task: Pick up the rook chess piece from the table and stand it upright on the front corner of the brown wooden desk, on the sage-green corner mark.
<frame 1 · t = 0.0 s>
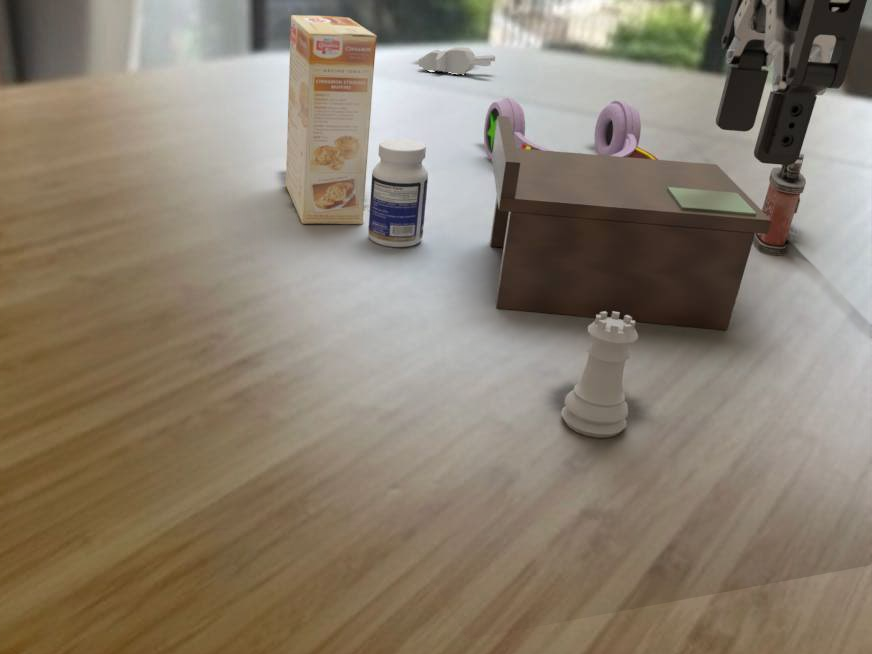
hand: (751, 144, 54), 20 cm above the table, tool pointing down, fingers open, 8 cm apart
coffeecake box: (322, 205, 105), on the table
brown wooden desk: (596, 281, 87), on the table
pill bottle: (394, 241, 95), on the table
headphones: (571, 175, 122), on the table
rook chess piece: (591, 425, 63), on the table
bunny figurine: (454, 74, 188), on the table
lighter: (767, 244, 100), on the table
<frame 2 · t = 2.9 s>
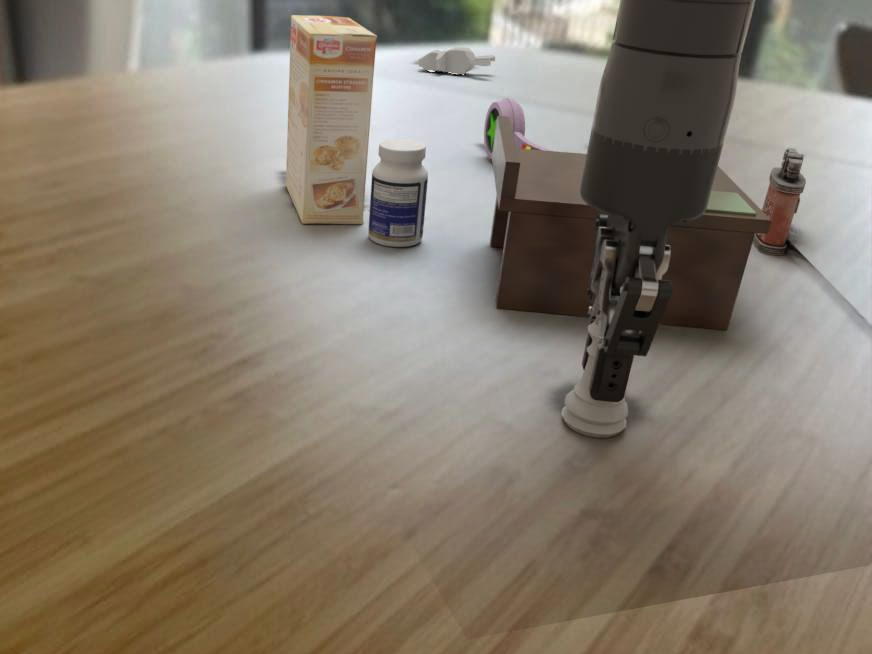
hand: (601, 383, 62), 3 cm above the table, tool pointing down, fingers closed on rook chess piece, 3 cm apart
rook chess piece: (591, 425, 63), on the table, touching gripper
everything else where it was.
when the fingers open (13 cm above the table, at t = 8.8 s): rook chess piece stays where it is, resting on brown wooden desk.
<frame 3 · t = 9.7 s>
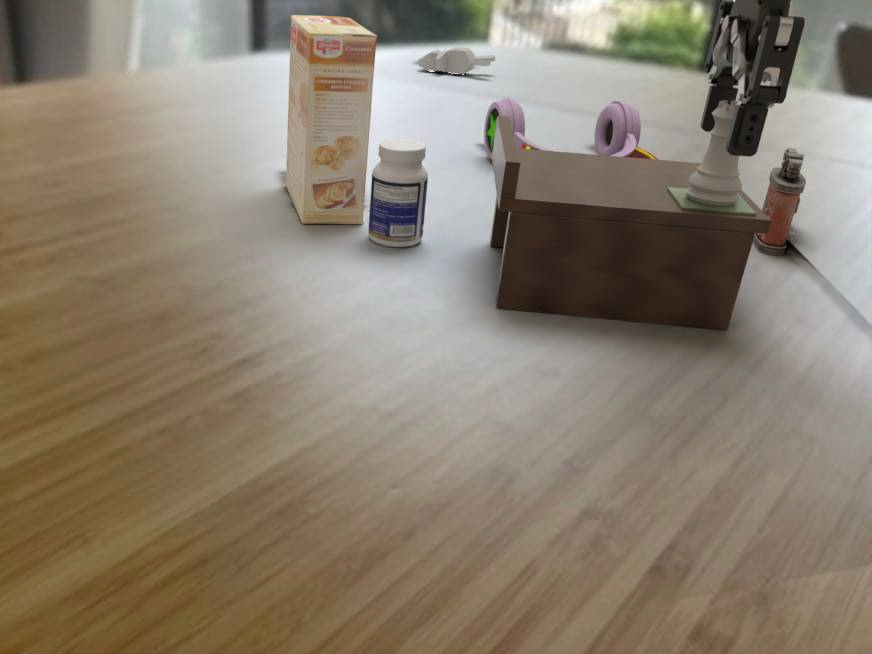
hand: (725, 142, 75), 15 cm above the table, tool pointing down, fingers open, 8 cm apart
rook chess piece: (710, 201, 77), point 10 cm above the table, touching brown wooden desk
everything else where it was.
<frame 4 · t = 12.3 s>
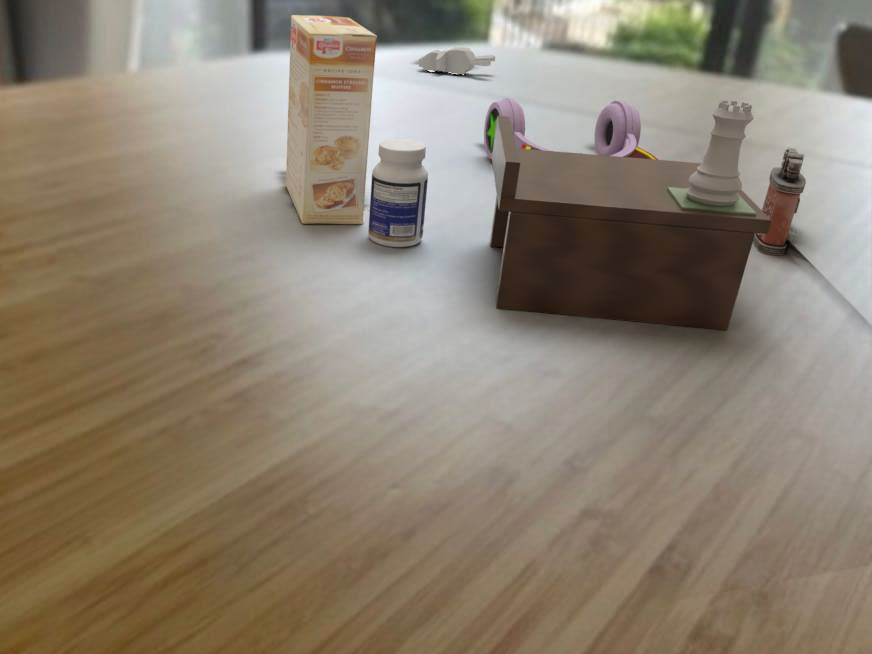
nothing on the table moved.
at the end: rook chess piece inside the target area on the brown wooden desk (0.2 cm from its centre), point 10.0 cm above the brown wooden desk's base; rook chess piece tilted 0°; the gripper is holding nothing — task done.
